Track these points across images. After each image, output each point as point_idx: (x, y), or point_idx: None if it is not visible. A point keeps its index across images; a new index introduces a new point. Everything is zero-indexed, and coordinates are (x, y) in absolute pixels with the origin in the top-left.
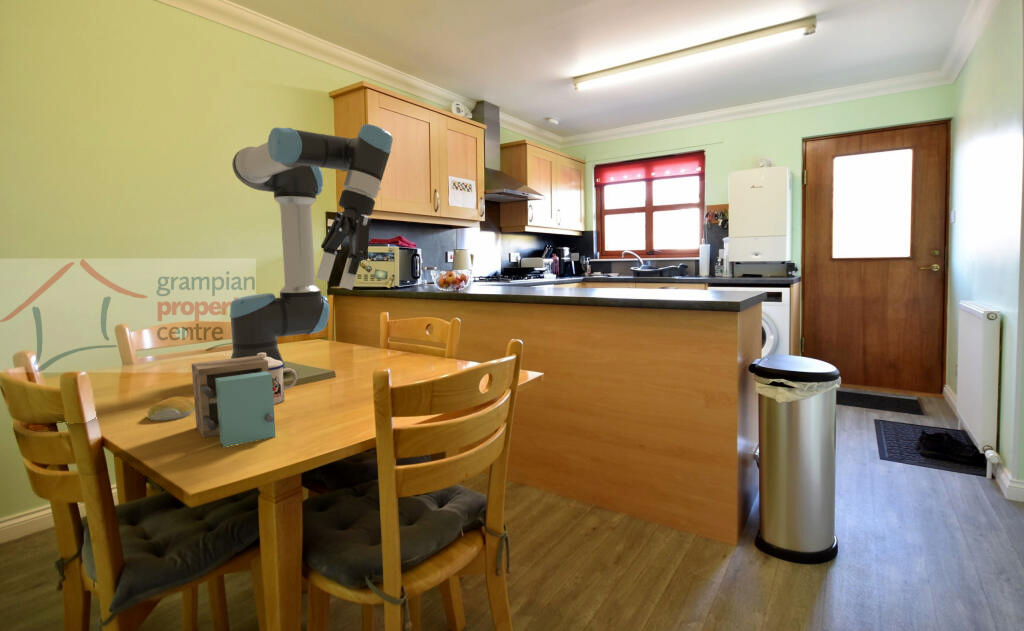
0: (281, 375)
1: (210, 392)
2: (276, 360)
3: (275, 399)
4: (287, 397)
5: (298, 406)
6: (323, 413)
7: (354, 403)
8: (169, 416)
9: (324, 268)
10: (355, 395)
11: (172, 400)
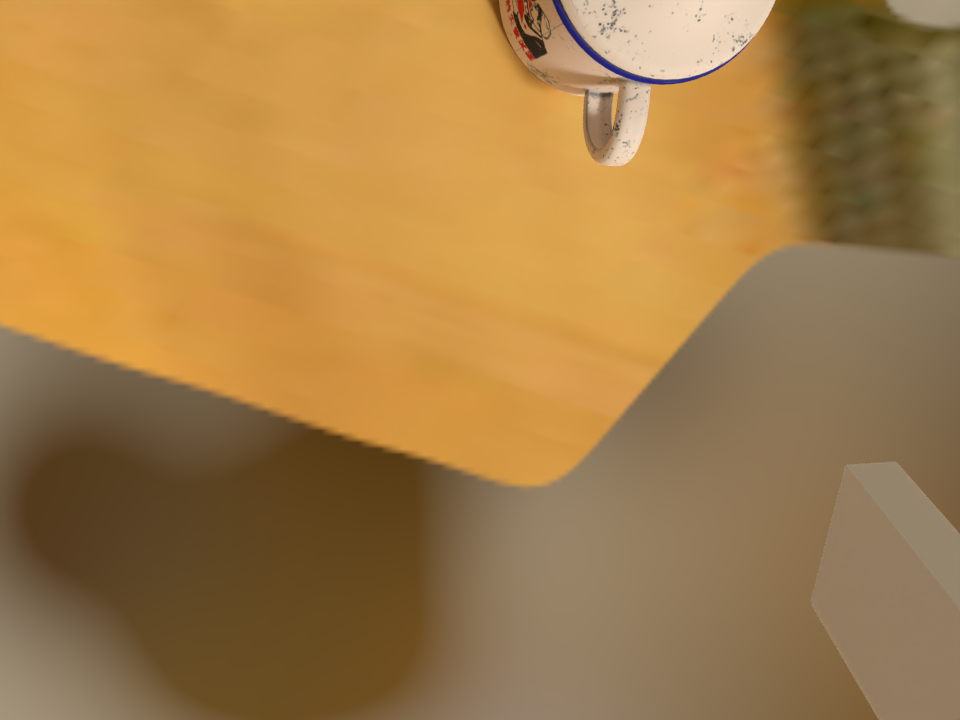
0: (576, 58)
1: None
2: (657, 33)
3: (508, 25)
4: None
5: (387, 110)
6: (170, 167)
7: (259, 353)
8: None
9: (934, 663)
10: (409, 408)
11: None
